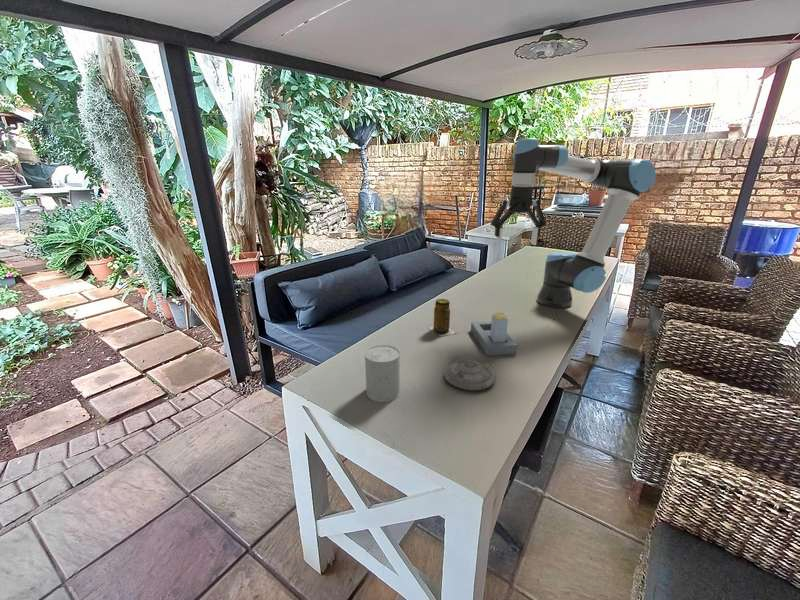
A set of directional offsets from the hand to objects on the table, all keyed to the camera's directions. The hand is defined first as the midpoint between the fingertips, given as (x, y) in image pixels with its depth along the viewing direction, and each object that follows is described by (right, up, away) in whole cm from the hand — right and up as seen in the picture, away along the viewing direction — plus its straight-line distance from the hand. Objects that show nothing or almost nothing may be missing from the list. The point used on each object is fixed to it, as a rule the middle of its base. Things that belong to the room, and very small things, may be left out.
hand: (516, 245), depth 138 cm
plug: (-10, -37, -10) cm, 39 cm away
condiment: (-27, -33, +4) cm, 43 cm away
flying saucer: (-23, -45, -28) cm, 57 cm away
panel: (-10, -36, -5) cm, 37 cm away
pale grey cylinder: (-48, -47, -34) cm, 75 cm away
